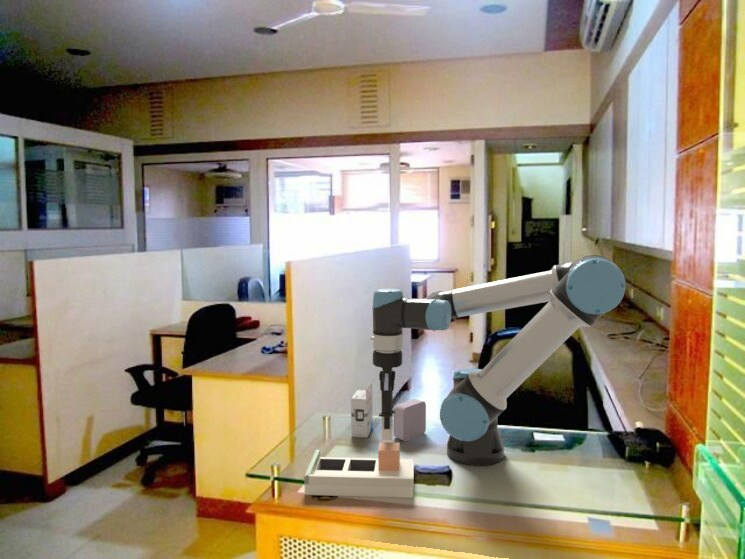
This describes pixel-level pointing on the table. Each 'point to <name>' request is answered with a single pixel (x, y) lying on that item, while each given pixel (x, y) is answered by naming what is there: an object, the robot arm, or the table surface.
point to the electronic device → (409, 419)
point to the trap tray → (358, 477)
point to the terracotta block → (389, 456)
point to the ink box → (361, 412)
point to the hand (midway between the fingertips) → (387, 439)
